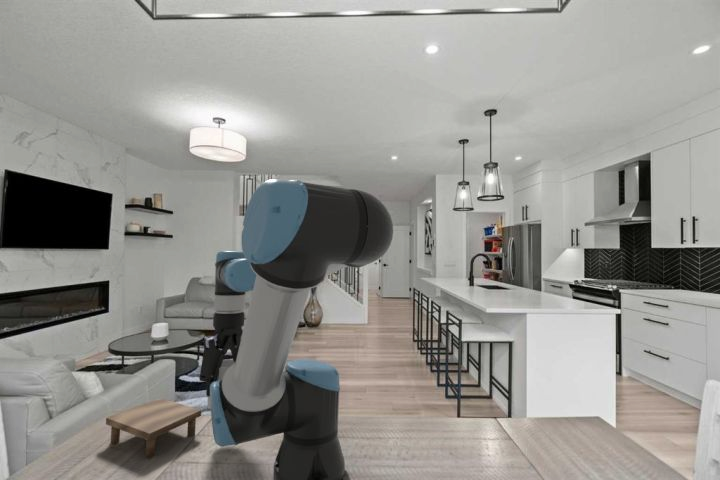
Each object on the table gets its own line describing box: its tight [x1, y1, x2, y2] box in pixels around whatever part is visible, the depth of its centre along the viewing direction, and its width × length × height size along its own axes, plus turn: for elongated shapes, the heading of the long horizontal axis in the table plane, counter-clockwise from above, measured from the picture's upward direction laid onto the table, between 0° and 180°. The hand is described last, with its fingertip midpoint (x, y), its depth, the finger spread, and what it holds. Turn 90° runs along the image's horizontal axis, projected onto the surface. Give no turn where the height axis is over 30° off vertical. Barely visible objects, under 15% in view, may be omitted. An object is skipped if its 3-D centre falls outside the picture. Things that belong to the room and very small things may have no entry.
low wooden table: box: [105, 397, 202, 459], centre depth 89 cm, size 16×14×6 cm
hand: (225, 403), depth 89 cm, fingers closed on cup, 7 cm apart
